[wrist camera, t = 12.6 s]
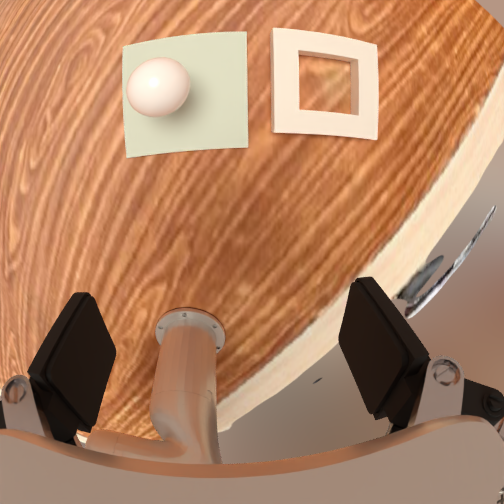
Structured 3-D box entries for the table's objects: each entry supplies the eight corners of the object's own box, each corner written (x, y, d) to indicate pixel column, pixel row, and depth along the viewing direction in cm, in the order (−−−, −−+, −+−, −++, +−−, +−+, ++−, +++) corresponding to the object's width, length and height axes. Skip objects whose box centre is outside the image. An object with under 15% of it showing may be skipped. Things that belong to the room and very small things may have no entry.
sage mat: (247, 147, 33) (248, 147, 32) (128, 157, 32) (126, 158, 31) (246, 32, 25) (246, 31, 25) (124, 47, 24) (123, 46, 24)
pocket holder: (368, 138, 33) (377, 140, 31) (271, 131, 32) (274, 132, 30) (368, 48, 27) (376, 45, 24) (269, 33, 26) (273, 27, 23)
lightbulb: (146, 117, 29) (113, 118, 19) (151, 71, 26) (121, 53, 17) (195, 118, 30) (181, 117, 20) (201, 71, 27) (190, 50, 17)
